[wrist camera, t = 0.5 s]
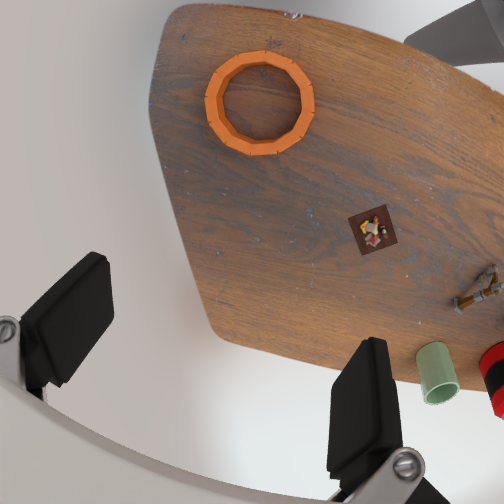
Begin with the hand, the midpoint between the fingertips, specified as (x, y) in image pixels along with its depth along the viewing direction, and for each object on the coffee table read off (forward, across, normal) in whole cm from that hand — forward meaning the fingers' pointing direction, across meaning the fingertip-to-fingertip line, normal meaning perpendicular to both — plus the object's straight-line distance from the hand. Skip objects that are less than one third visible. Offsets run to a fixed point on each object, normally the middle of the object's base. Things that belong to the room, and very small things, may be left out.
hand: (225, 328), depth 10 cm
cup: (+24, -30, +20) cm, 43 cm away
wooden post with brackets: (+24, -28, +6) cm, 38 cm away
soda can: (+24, -44, +18) cm, 54 cm away
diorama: (+24, -11, +4) cm, 27 cm away
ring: (+24, +4, -6) cm, 25 cm away
